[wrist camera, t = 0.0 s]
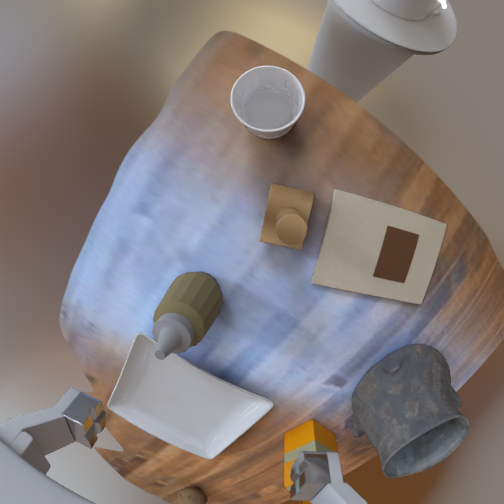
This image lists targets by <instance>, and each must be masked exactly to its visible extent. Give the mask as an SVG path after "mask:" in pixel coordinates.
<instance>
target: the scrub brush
mask: <svg viewBox="0 0 504 504" xmlns="http://www.w3.org/2000/svg"><path fill="white" fill-rule="evenodd" d="M314 196H315V193H313V192H309V191H305V190H301V189H297V188H292V187H288V186H283V185H279V184H274V183H272V184H271V188H270V193H269V198H268V203H267V207H266V212H265V217H264V221H263V226H262V231H261V236H260V240H259V241H261V242H266V243H271V244H275V245H280V246H284V247H289V248H294V249H298V250H302V246H303V242H304V238H305V237H306V234H307V226H308V221H309V217H310V213H311V209H312V204H313V200H314Z"/></svg>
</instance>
